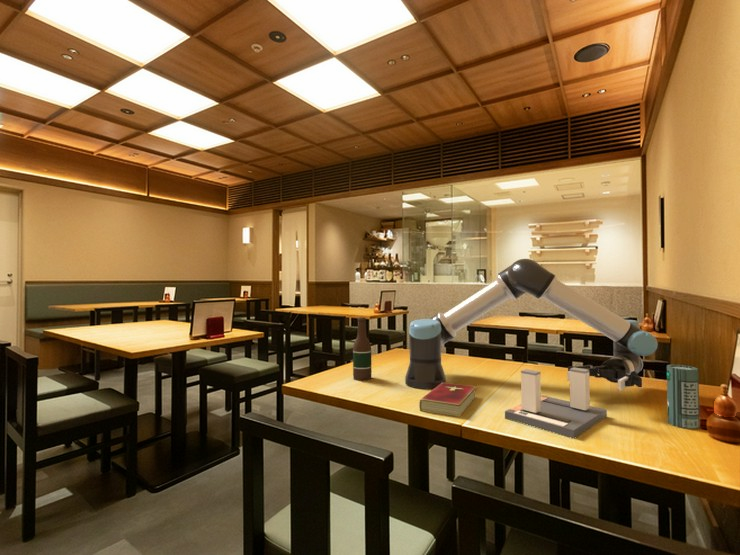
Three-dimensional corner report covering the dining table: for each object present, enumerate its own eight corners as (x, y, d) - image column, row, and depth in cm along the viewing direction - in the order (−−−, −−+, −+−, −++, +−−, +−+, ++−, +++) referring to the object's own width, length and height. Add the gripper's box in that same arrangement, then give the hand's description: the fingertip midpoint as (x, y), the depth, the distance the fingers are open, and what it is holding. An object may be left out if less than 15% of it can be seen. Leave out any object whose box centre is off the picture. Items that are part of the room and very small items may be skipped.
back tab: (570, 406, 106) (569, 368, 106) (574, 404, 108) (574, 367, 108) (585, 410, 103) (585, 371, 103) (589, 408, 105) (589, 369, 105)
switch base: (504, 418, 104) (504, 370, 104) (542, 401, 118) (541, 359, 119) (573, 438, 90) (573, 383, 91) (606, 417, 105) (605, 369, 105)
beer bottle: (349, 377, 151) (349, 317, 152) (367, 375, 155) (366, 316, 155) (357, 381, 144) (356, 318, 145) (375, 379, 148) (374, 317, 148)
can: (687, 420, 101) (686, 364, 102) (704, 429, 95) (703, 370, 96) (662, 420, 102) (661, 364, 102) (679, 428, 96) (678, 369, 96)
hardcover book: (419, 412, 111) (419, 398, 111) (441, 393, 130) (441, 381, 130) (459, 419, 105) (459, 403, 105) (476, 398, 124) (476, 385, 124)
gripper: (664, 388, 115) (643, 403, 102) (577, 374, 134) (550, 384, 121) (663, 364, 115) (643, 375, 102) (576, 352, 134) (549, 361, 121)
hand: (592, 380), depth 111 cm, fingers open, 13 cm apart
